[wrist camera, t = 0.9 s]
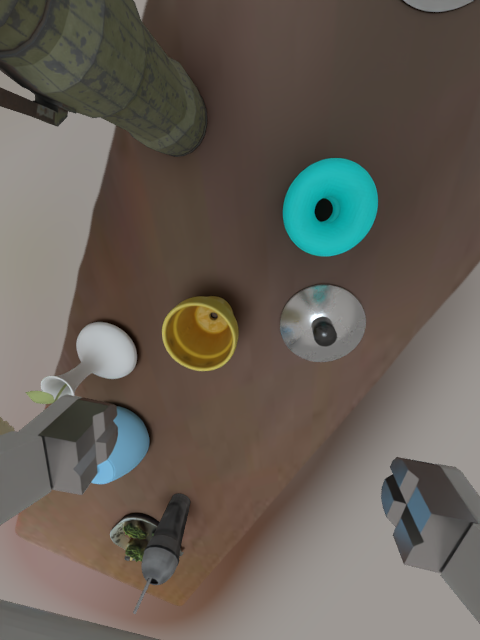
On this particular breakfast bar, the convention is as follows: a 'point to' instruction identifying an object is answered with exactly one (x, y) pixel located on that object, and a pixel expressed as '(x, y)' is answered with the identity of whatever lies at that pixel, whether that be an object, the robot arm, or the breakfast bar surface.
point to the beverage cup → (165, 544)
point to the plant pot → (201, 333)
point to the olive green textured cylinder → (98, 71)
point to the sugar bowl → (124, 447)
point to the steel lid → (322, 323)
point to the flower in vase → (88, 363)
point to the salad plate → (134, 535)
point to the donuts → (347, 200)
